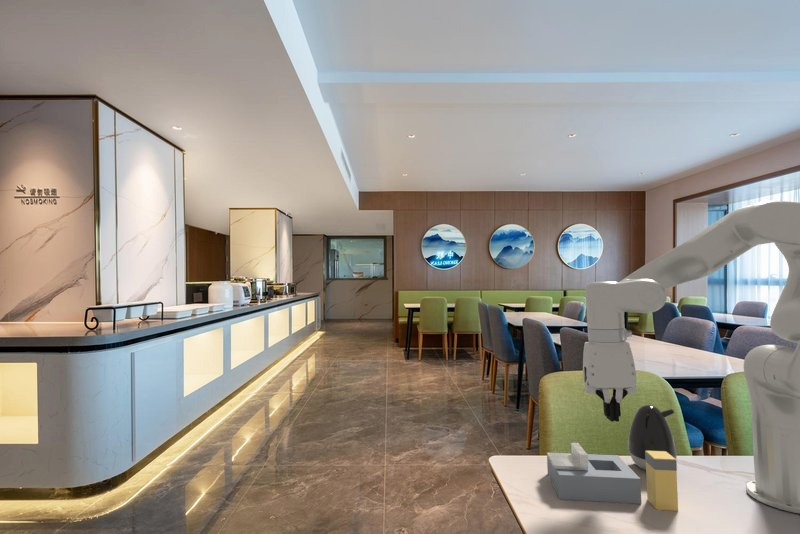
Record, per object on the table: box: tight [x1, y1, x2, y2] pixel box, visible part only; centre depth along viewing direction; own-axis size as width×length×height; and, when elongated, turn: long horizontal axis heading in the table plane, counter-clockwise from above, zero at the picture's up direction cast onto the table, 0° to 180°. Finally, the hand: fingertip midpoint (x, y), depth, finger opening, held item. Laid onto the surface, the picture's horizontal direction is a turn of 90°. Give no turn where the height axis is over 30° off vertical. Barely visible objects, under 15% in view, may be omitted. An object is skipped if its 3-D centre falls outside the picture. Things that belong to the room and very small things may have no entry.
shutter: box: [546, 442, 588, 471], centre depth 93 cm, size 7×7×3 cm
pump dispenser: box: [627, 404, 677, 471], centre depth 102 cm, size 10×10×15 cm
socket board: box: [546, 452, 642, 505], centre depth 92 cm, size 16×12×5 cm
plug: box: [645, 451, 679, 512], centre depth 85 cm, size 4×4×10 cm
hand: (612, 419), depth 92 cm, fingers closed
